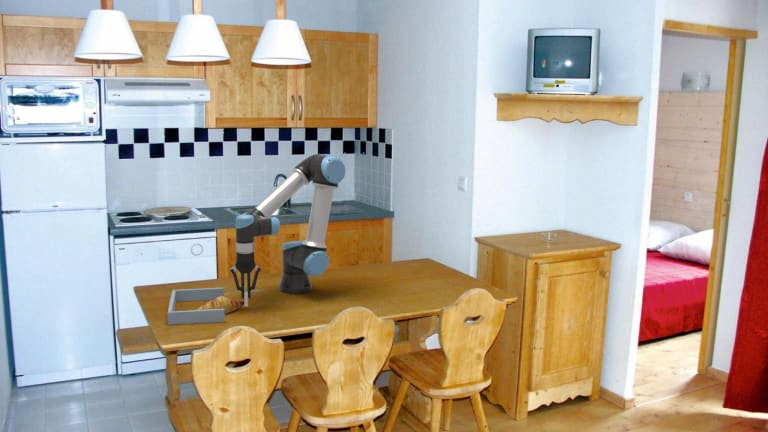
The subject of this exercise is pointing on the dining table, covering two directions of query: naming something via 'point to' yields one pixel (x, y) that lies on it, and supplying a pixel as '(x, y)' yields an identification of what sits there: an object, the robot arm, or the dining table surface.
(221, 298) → the croissant
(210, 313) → the crate
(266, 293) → the dining table surface
